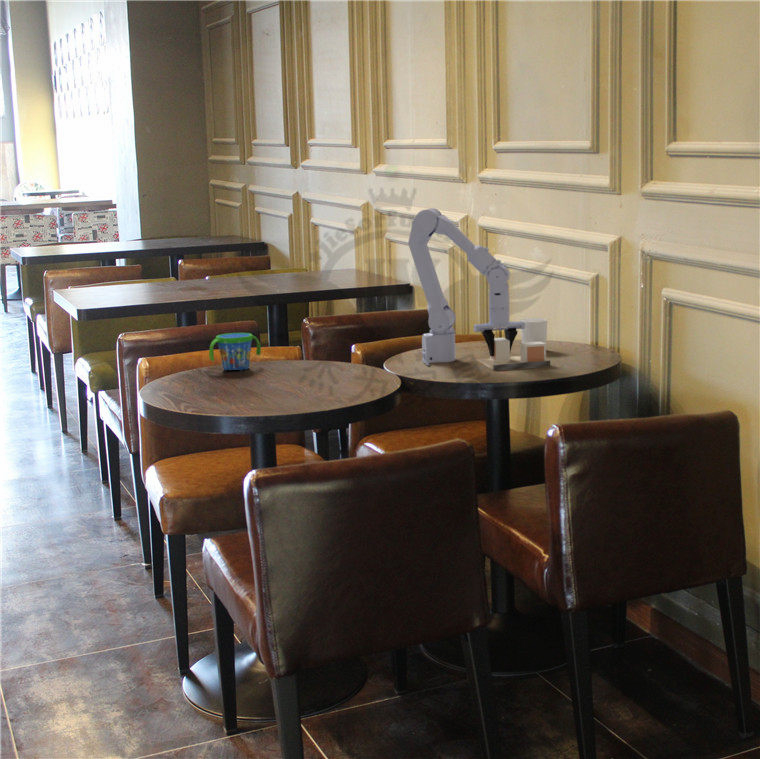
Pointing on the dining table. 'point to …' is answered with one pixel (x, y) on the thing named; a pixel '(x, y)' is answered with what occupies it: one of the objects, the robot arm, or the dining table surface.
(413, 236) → the robot arm
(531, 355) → the faced carton
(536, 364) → the shelf board
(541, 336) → the white cup
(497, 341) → the carton
